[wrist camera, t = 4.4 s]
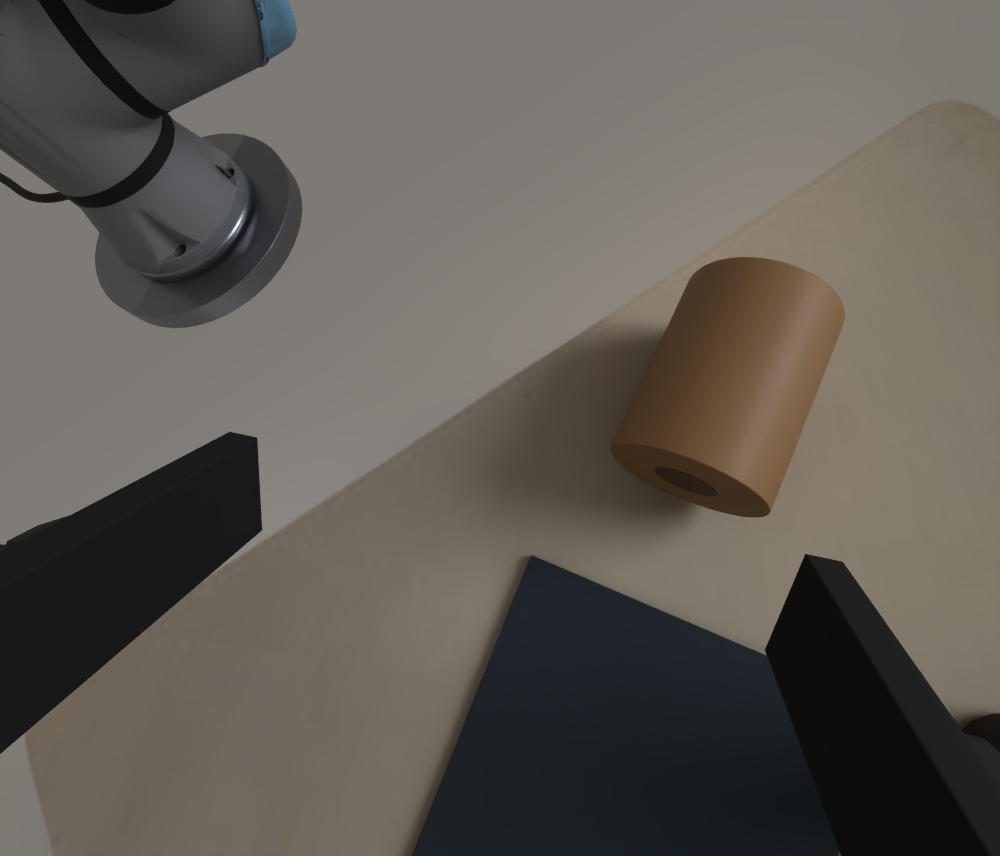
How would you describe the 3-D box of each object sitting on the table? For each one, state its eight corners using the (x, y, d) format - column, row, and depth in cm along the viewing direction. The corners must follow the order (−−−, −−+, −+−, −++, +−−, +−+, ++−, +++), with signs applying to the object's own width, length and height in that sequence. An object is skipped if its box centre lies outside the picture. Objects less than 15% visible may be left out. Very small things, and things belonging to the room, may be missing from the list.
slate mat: (402, 884, 30) (398, 889, 29) (532, 555, 34) (531, 555, 34) (767, 1138, 24) (770, 1149, 23) (870, 700, 28) (874, 702, 28)
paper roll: (753, 529, 32) (788, 497, 23) (615, 472, 35) (603, 427, 27) (819, 361, 34) (871, 279, 26) (683, 323, 37) (691, 240, 29)
